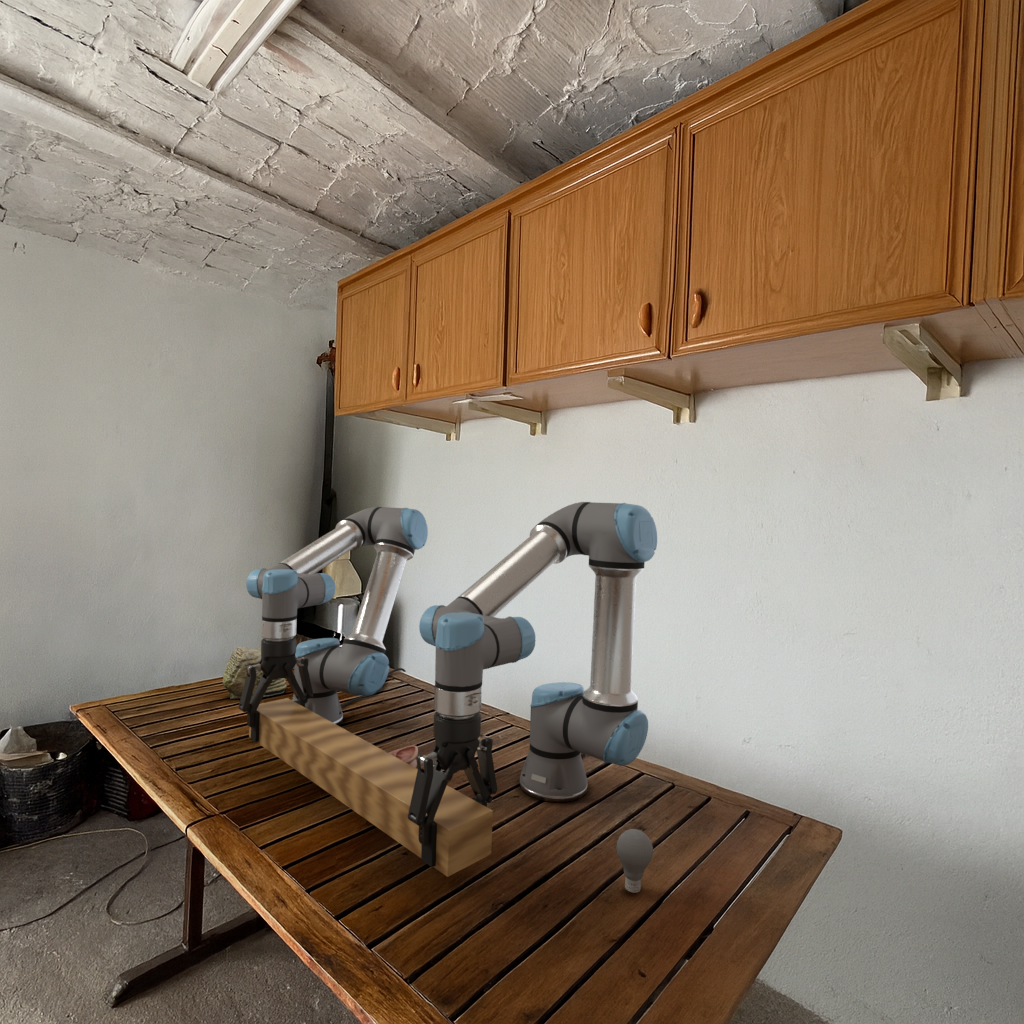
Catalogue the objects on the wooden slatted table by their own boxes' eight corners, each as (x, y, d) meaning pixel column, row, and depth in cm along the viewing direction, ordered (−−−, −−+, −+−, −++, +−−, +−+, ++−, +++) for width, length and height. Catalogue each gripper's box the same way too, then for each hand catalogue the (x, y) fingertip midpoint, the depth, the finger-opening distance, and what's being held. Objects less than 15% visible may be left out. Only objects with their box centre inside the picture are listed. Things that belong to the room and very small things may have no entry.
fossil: (218, 695, 195) (220, 647, 195) (278, 685, 208) (279, 640, 207) (228, 703, 189) (230, 653, 188) (289, 692, 201) (290, 645, 201)
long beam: (248, 736, 145) (249, 705, 145) (286, 727, 152) (287, 697, 151) (447, 877, 95) (449, 830, 95) (491, 854, 102) (493, 810, 101)
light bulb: (610, 879, 108) (613, 822, 108) (644, 879, 109) (647, 822, 109) (619, 902, 102) (622, 840, 102) (655, 901, 103) (658, 840, 103)
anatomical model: (351, 756, 145) (372, 738, 156) (350, 773, 145) (371, 754, 156) (406, 763, 142) (423, 744, 154) (405, 780, 143) (422, 760, 154)
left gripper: (236, 647, 134) (233, 752, 135) (330, 634, 150) (328, 728, 150) (223, 640, 140) (220, 741, 140) (316, 628, 155) (313, 719, 156)
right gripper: (415, 735, 90) (410, 890, 91) (522, 703, 106) (517, 836, 106) (385, 720, 96) (381, 866, 96) (492, 692, 111) (487, 818, 112)
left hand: (276, 734), depth 145 cm, fingers closed on long beam, 9 cm apart
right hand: (453, 850), depth 101 cm, fingers closed on long beam, 9 cm apart
